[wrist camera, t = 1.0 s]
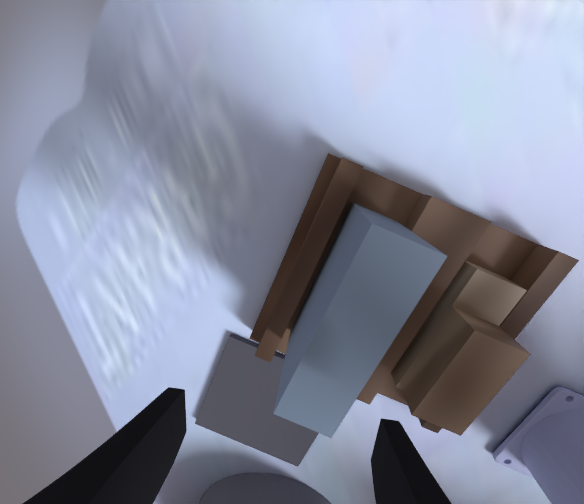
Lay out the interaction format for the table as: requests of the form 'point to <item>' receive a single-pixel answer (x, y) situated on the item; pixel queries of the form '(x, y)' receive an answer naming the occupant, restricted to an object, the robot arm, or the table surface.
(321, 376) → the blue-grey rectangular block
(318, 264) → the rack
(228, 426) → the mat
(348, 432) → the table surface
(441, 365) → the offcut short
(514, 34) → the table surface
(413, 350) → the block
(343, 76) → the table surface
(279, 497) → the tape roll
